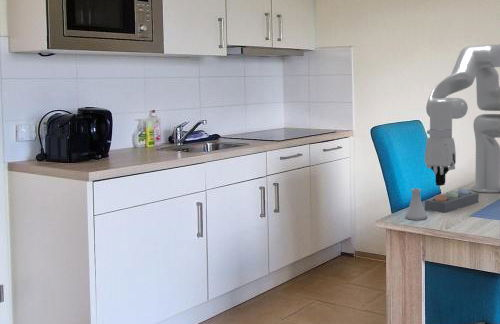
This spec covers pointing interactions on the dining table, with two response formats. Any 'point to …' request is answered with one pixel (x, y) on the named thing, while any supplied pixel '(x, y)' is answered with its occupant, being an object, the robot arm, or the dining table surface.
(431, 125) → the robot arm
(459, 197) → the console
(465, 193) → the slate button
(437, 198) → the terracotta button
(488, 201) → the dining table surface
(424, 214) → the flask
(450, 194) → the sage button
